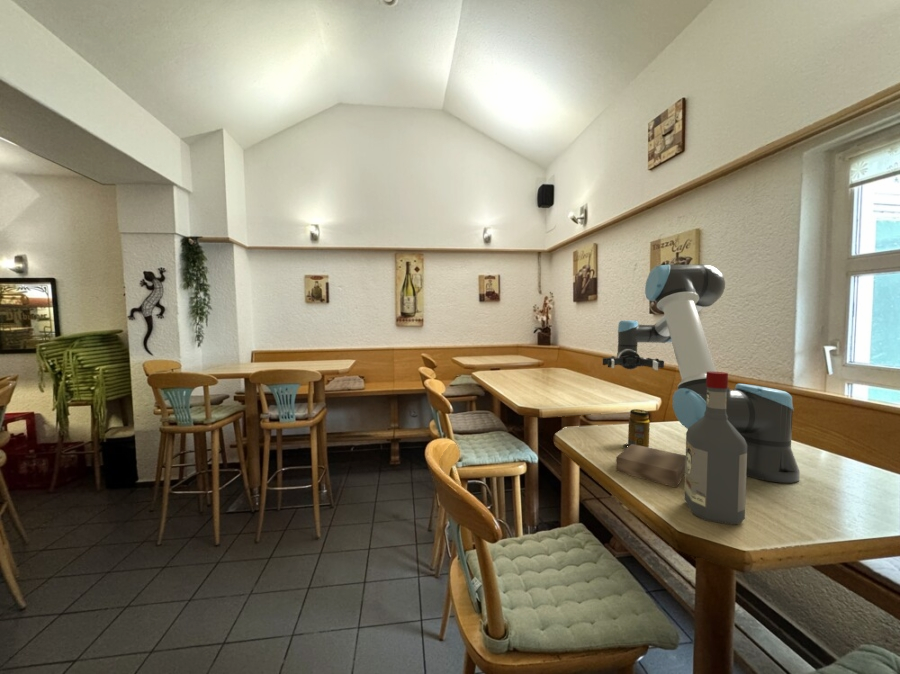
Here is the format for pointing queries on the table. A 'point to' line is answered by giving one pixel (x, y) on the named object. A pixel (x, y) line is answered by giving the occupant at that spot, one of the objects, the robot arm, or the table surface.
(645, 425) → the condiment
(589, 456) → the table surface
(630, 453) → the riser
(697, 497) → the liquor
